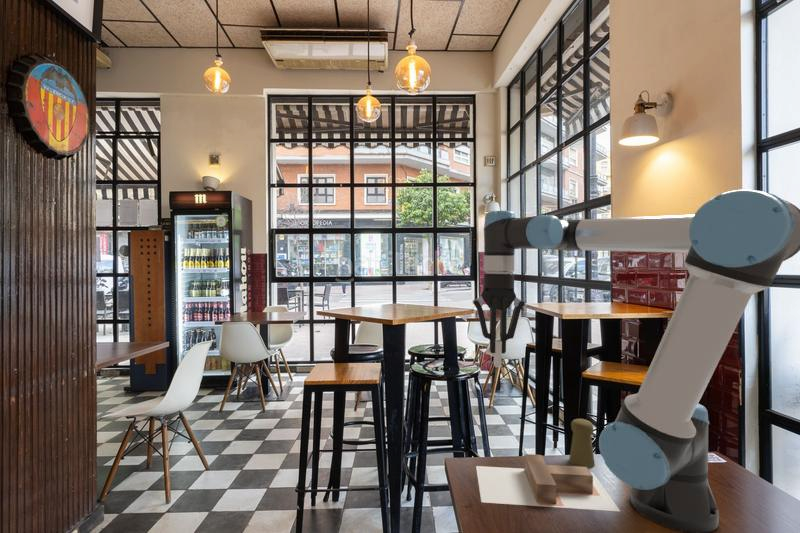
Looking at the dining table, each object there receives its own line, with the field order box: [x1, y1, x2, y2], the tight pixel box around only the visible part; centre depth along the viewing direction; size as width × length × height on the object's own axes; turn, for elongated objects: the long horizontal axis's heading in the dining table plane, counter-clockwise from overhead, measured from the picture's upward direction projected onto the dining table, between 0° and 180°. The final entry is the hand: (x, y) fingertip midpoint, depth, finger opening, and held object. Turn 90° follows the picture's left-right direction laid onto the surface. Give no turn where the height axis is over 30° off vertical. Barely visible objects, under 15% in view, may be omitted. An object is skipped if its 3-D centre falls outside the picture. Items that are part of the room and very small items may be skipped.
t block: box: [523, 453, 593, 504], centre depth 94 cm, size 13×14×4 cm
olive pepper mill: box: [568, 418, 596, 469], centre depth 106 cm, size 6×6×11 cm
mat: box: [475, 465, 621, 513], centre depth 94 cm, size 28×16×1 cm, turn 84°
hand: (497, 365), depth 105 cm, fingers closed
